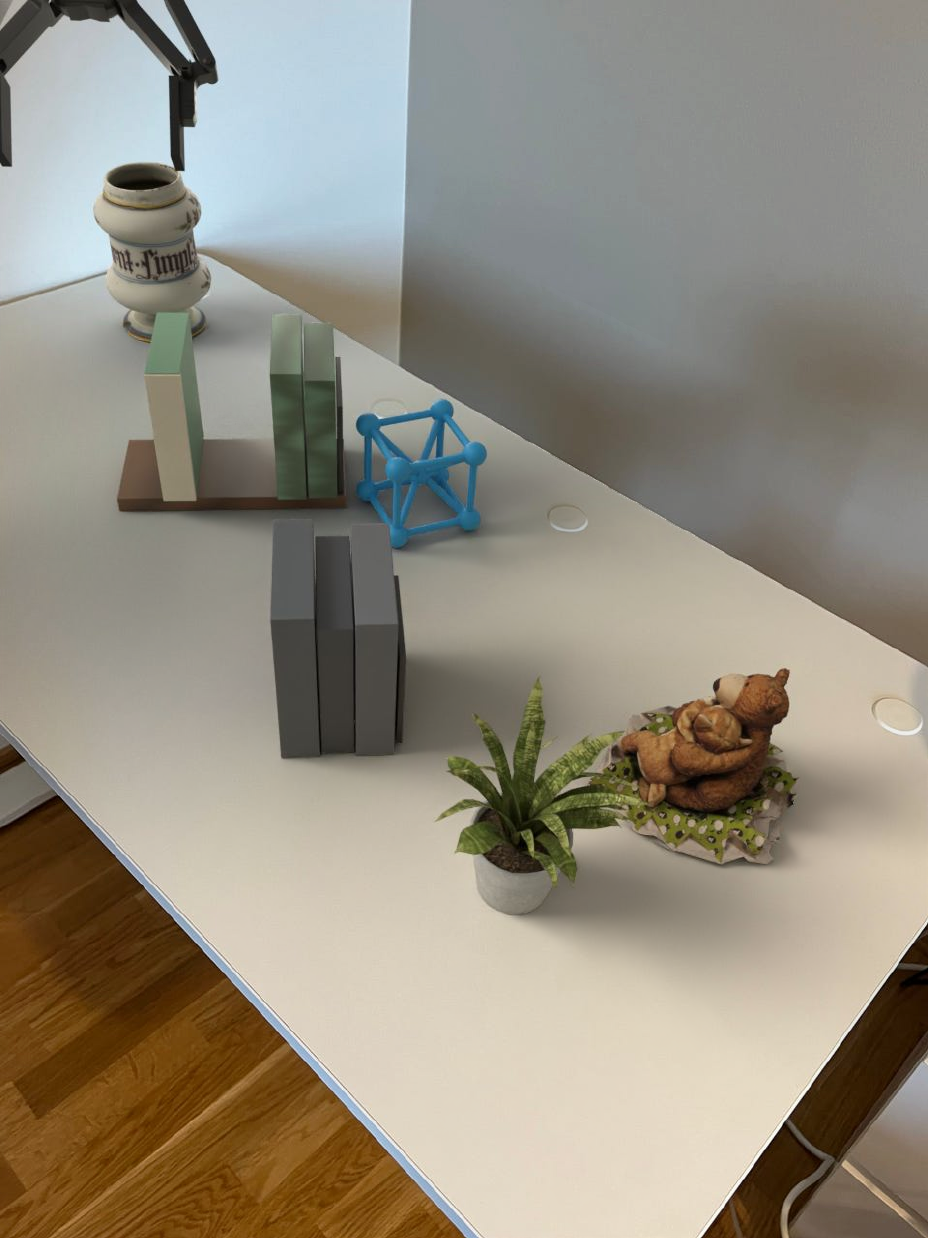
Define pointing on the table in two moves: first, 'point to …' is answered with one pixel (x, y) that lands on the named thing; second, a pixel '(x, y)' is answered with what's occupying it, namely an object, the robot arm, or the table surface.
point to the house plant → (531, 812)
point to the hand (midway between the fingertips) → (90, 161)
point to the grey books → (336, 640)
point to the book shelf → (266, 468)
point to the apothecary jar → (152, 245)
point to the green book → (174, 406)
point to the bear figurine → (708, 770)
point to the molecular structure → (419, 471)
